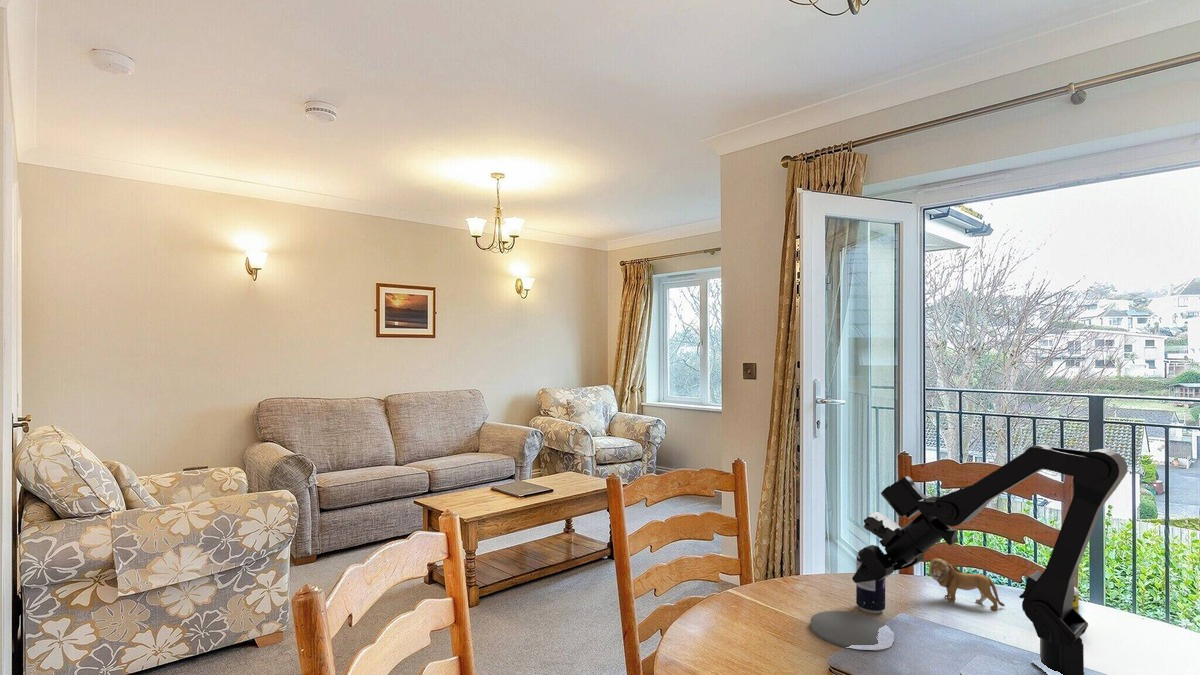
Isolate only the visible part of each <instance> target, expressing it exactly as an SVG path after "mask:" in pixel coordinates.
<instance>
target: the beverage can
mask: <svg viewBox="0 0 1200 675" xmlns="http://www.w3.org/2000/svg"><path fill="white" fill-rule="evenodd" d="M862 549H863V548H861V549H859V550H858V552H859V551H861V550H862ZM861 563H862V560H861V559H860V557H859V555H858V554H857V555H856V569H855V570H856V571H857V570H858V568H859V567H860V565H861ZM856 571H855V572H856ZM855 584H856V589H855V591H856V593H855V596H856V597H855V598H856V599H855V600H856V603H855V604H856V605H857V606H858V608H859V609H860V610H862V611H863V612H865V613H869V614H880V613H882V611H884V610H885V609H886V578H884V579H881V580H875V581H867V582H860V583H855Z"/></svg>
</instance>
